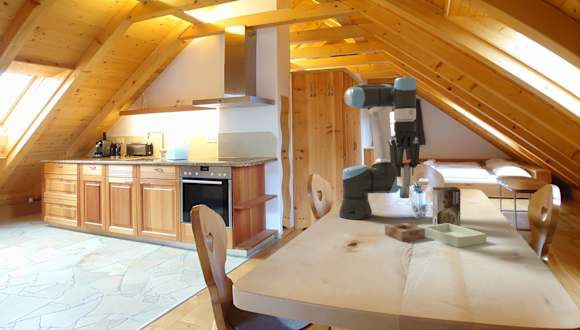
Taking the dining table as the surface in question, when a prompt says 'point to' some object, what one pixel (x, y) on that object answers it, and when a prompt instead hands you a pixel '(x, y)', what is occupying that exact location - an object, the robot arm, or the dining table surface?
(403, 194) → the pin
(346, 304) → the dining table surface
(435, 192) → the coffee box
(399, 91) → the robot arm
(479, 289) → the dining table surface
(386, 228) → the socket block
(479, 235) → the tray
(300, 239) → the dining table surface
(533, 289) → the dining table surface
